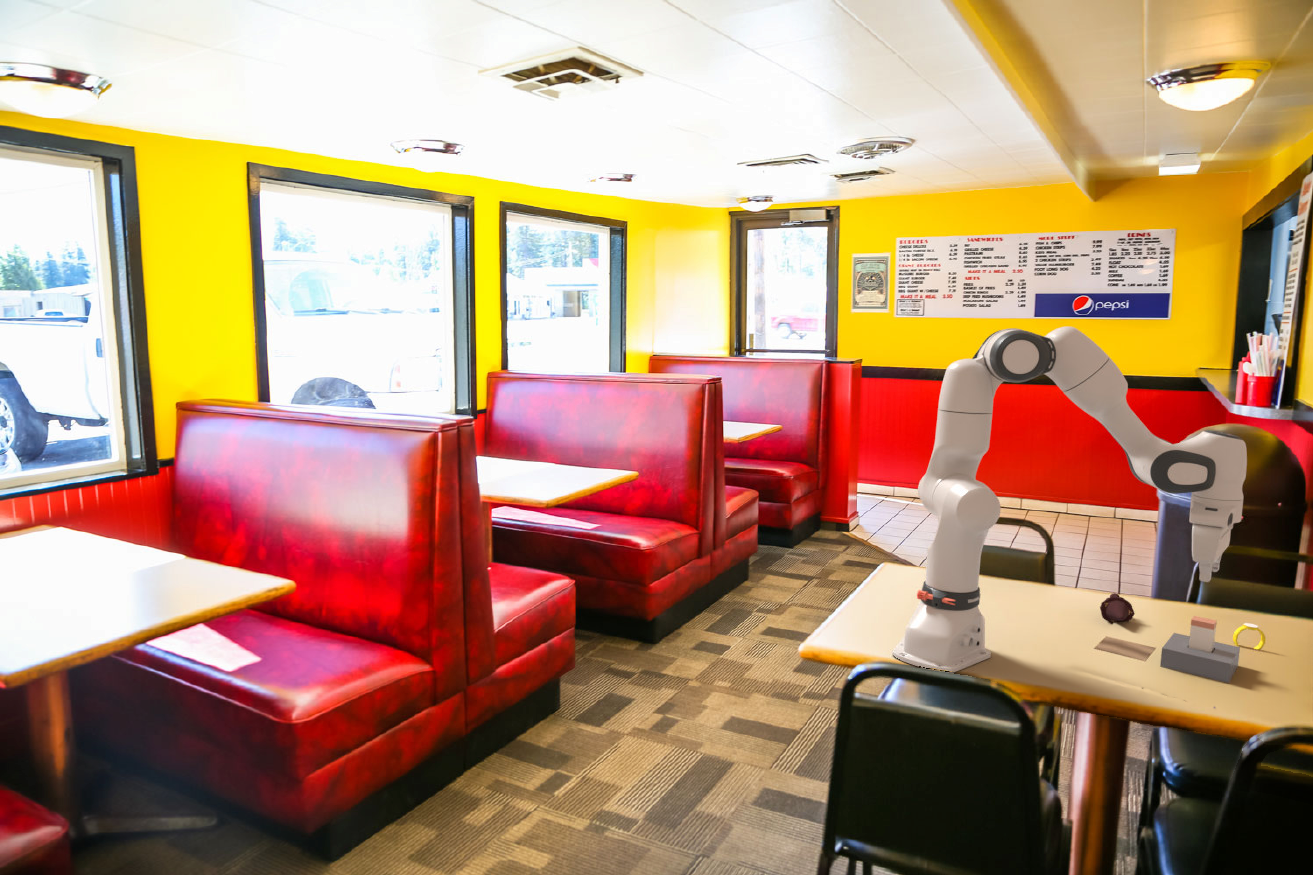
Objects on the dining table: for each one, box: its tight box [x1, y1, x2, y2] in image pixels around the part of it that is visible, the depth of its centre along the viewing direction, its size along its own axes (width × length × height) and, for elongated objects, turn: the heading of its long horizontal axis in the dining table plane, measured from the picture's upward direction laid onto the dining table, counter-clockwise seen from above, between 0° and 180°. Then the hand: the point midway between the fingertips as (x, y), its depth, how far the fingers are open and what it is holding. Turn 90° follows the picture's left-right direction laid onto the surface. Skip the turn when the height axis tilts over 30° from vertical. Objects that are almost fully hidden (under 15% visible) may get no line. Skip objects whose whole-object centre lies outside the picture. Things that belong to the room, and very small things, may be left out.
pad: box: [1093, 635, 1156, 662], centre depth 185 cm, size 10×10×1 cm
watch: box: [1232, 622, 1266, 650], centre depth 187 cm, size 6×3×6 cm, turn 79°
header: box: [1160, 632, 1241, 684], centre depth 176 cm, size 12×12×5 cm
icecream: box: [1099, 592, 1136, 625], centre depth 203 cm, size 7×7×15 cm
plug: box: [1189, 615, 1218, 653], centre depth 175 cm, size 3×4×10 cm
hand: (1209, 575), depth 173 cm, fingers open, 8 cm apart
